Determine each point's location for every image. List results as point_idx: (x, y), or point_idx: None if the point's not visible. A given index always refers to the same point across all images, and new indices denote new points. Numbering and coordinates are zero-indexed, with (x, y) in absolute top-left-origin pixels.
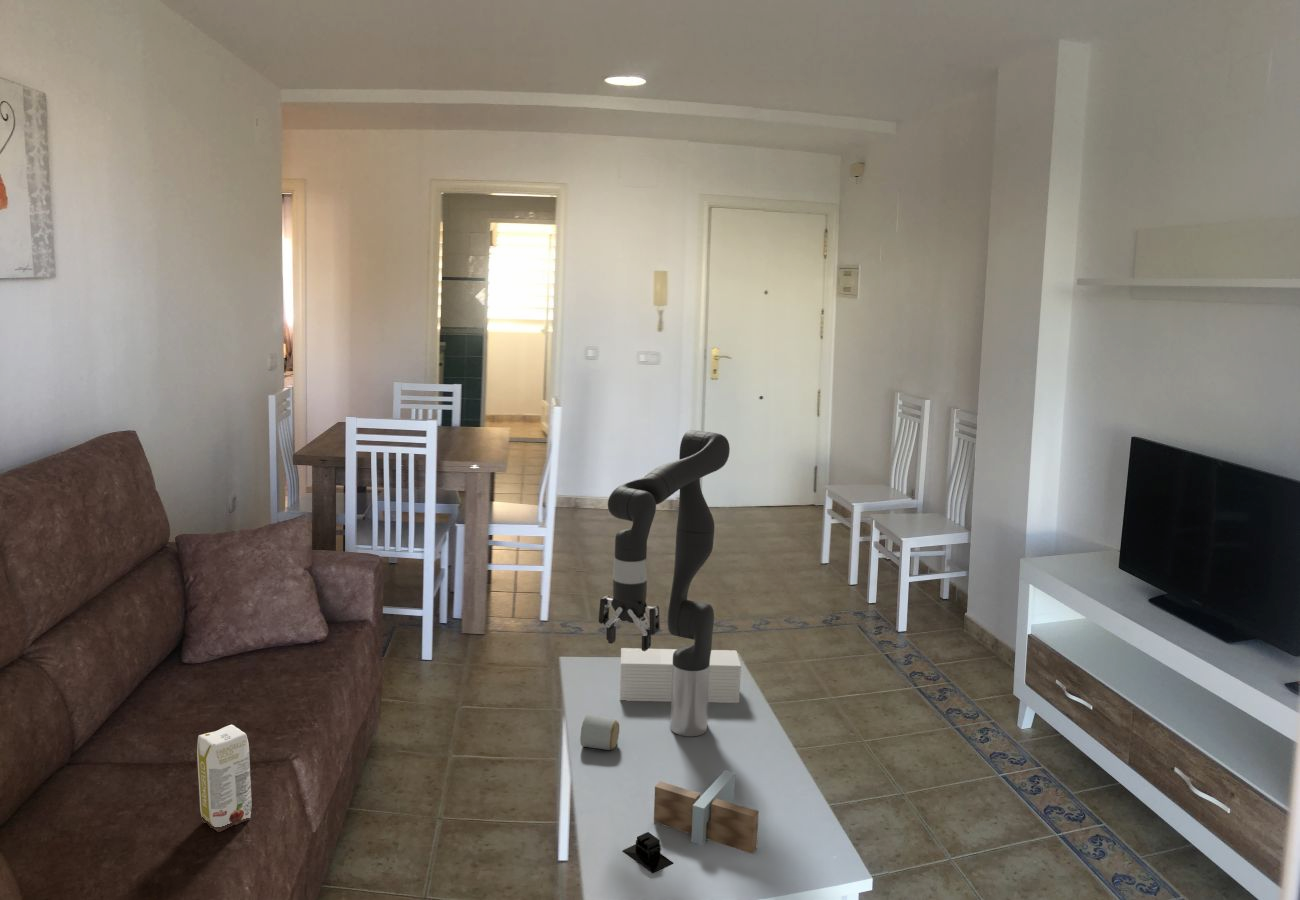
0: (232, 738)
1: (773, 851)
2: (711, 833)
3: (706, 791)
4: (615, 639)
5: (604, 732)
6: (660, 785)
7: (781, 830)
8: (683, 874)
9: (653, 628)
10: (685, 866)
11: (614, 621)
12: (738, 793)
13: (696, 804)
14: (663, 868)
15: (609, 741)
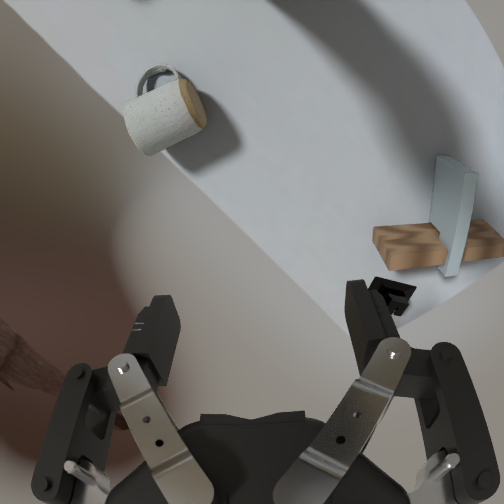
0: None
1: (496, 215)
2: None
3: (454, 241)
4: (167, 296)
5: (188, 134)
6: (394, 264)
7: (499, 174)
8: (428, 294)
9: (439, 409)
10: (427, 284)
11: (175, 423)
12: (443, 116)
13: (448, 273)
14: (409, 298)
15: (202, 129)
